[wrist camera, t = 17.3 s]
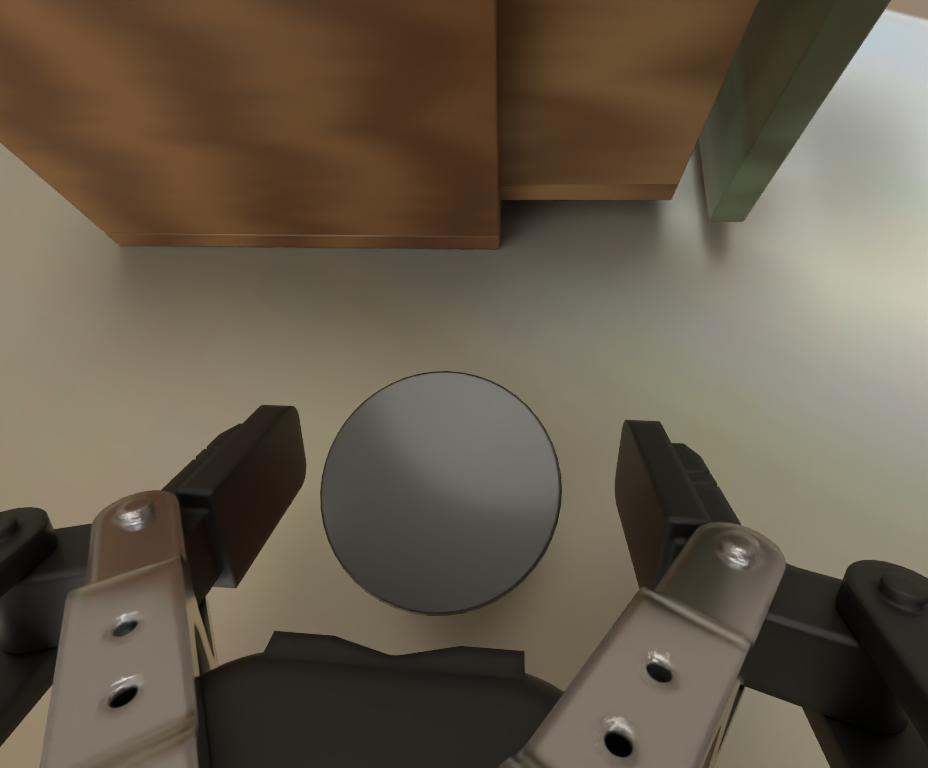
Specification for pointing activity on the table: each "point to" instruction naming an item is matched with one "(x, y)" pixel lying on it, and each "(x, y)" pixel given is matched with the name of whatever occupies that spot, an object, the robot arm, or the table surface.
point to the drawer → (664, 93)
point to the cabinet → (261, 118)
